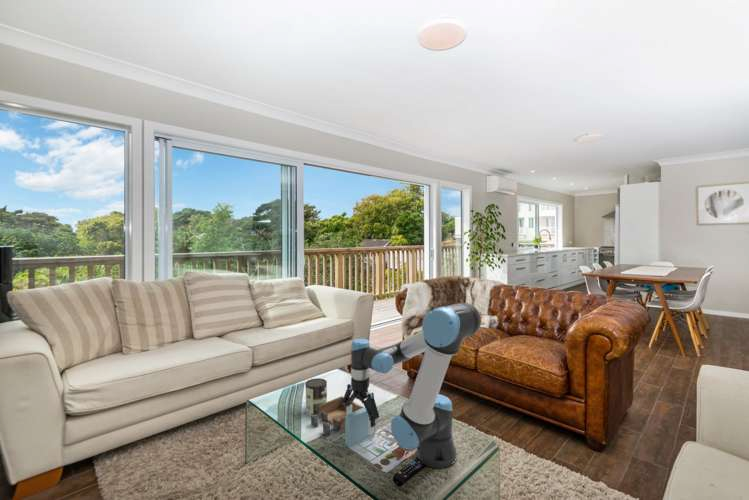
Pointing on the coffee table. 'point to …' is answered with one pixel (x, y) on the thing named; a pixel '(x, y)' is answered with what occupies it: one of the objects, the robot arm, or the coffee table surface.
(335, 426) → the cabinet
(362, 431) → the door
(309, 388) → the coffee can
